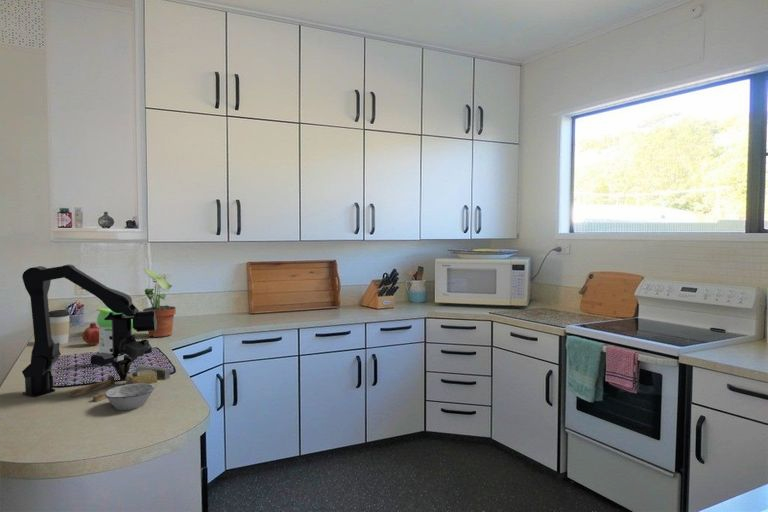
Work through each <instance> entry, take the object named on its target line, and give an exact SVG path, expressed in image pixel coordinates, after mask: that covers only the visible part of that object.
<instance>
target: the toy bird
mask: <svg viewBox="0 0 768 512" xmlns="http://www.w3.org/2000/svg"><path fill="white" fill-rule="evenodd" d="M96 311H98V315H97V319H96V321H97V326H98V328H99V327H112V320H104V318H106V317H107V316H108V315H109V313H110V312H113V311H112V310H111V309H109V308H108V307H107V306H106V307H99V308H96ZM113 313H114V314H122V313H115V312H113ZM125 316H126V315H125ZM131 326H132V329H133V319H131ZM105 331H112V329H109V328H108V329H105Z"/></svg>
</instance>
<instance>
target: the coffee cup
mask: <svg viewBox="0 0 768 512" xmlns="http://www.w3.org/2000/svg"><path fill="white" fill-rule="evenodd" d="M70 316H71V314H70V311H68V310H67V309H55V310H49V317H50V328H51V338H52V340H53V342H54V343H59V344H60V345H65V344H67V343H69V337H70V336H69V334H70V322H71V321H70Z"/></svg>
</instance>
